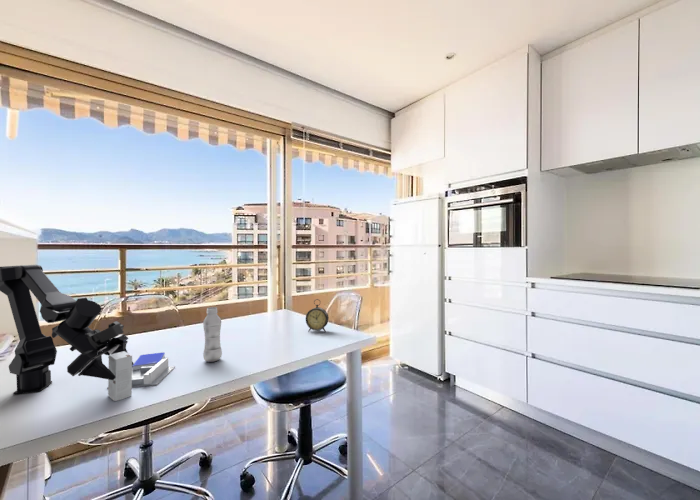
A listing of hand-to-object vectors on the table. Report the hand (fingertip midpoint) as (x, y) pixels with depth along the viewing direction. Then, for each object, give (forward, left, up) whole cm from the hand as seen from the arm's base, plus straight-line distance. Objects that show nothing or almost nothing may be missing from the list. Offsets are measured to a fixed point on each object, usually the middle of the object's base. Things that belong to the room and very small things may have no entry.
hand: (123, 371), depth 90 cm
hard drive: (0, +25, -7) cm, 26 cm away
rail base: (+2, +11, -7) cm, 13 cm away
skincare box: (-1, 0, -7) cm, 7 cm away
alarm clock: (+68, +44, -7) cm, 81 cm away
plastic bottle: (+22, +20, -7) cm, 31 cm away
